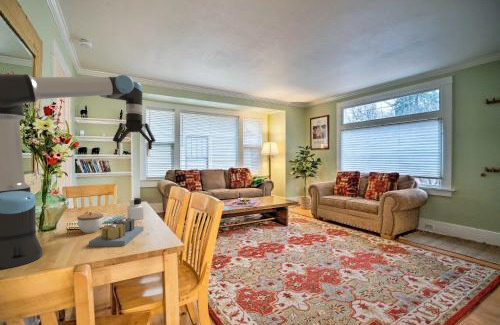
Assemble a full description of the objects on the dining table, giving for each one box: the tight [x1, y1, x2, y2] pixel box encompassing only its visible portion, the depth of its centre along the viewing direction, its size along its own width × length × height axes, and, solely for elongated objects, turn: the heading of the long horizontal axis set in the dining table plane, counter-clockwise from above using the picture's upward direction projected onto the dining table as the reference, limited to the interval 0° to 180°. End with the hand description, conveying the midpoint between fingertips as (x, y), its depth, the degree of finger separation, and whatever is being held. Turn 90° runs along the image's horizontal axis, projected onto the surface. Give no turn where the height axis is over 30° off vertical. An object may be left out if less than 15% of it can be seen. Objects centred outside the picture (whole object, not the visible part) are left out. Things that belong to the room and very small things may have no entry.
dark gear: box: [112, 217, 135, 232], centre depth 120 cm, size 9×9×4 cm
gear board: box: [88, 218, 144, 247], centre depth 115 cm, size 14×22×7 cm, turn 4°
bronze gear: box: [100, 223, 125, 240], centre depth 110 cm, size 9×9×4 cm
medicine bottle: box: [126, 197, 145, 221], centre depth 151 cm, size 7×7×12 cm
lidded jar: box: [76, 211, 104, 234], centre depth 125 cm, size 11×11×9 cm
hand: (134, 155), depth 131 cm, fingers open, 13 cm apart
